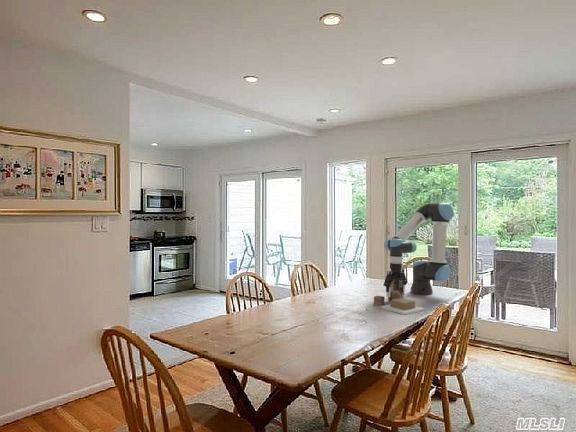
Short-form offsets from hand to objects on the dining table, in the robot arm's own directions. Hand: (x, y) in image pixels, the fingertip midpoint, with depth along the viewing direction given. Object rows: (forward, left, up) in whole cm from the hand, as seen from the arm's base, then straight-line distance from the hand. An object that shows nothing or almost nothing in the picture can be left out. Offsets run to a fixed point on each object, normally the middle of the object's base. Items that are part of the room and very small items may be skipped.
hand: (395, 295), depth 253 cm
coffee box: (0, 0, -4) cm, 4 cm away
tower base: (+10, +14, -4) cm, 18 cm away
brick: (+13, -2, -4) cm, 14 cm away
